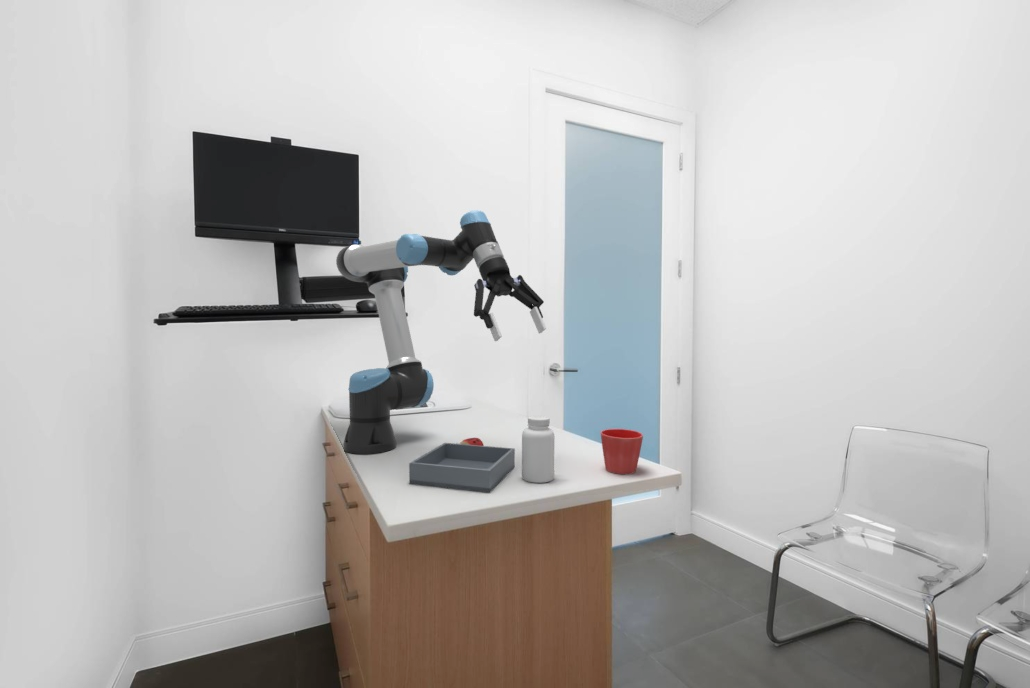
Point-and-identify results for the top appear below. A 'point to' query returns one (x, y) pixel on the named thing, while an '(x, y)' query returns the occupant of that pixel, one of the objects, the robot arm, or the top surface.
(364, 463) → the top surface
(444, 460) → the tray
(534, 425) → the pill bottle
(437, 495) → the top surface
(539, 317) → the robot arm
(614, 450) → the flower pot
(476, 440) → the ladybug figurine
